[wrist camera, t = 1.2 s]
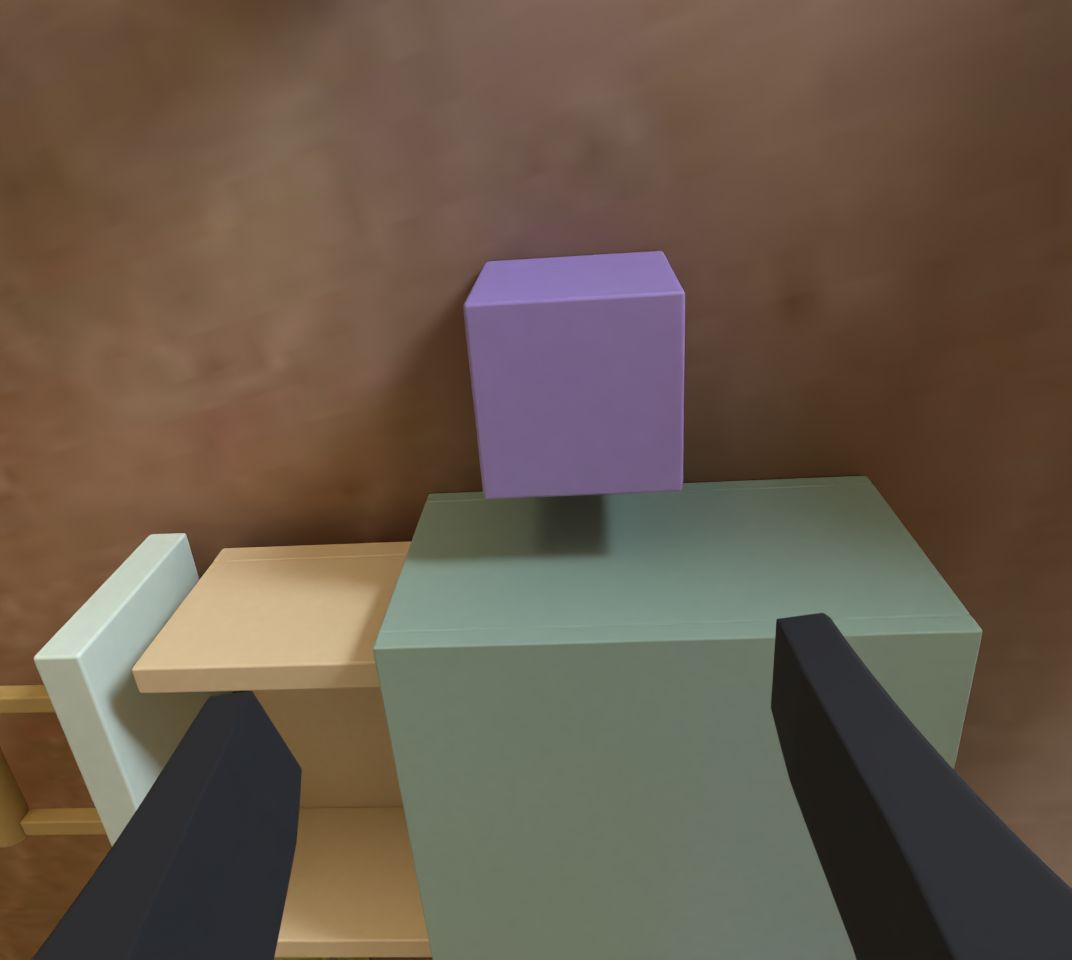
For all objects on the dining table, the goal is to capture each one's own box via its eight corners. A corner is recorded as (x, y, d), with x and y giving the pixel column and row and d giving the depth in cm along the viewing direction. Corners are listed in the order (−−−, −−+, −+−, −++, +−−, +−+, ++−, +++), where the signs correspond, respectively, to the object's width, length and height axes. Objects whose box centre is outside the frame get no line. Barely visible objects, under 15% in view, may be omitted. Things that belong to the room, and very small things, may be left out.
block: (663, 250, 22) (685, 291, 17) (663, 418, 24) (683, 492, 19) (484, 261, 22) (462, 303, 18) (500, 426, 24) (483, 500, 20)
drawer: (83, 814, 31) (-23, 972, 25) (-34, 540, 26) (-201, 664, 20) (565, 807, 30) (563, 972, 24) (545, 517, 24) (536, 643, 19)
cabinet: (471, 803, 31) (441, 1012, 24) (428, 492, 25) (371, 648, 18) (827, 798, 30) (904, 1013, 23) (866, 474, 24) (983, 631, 17)
